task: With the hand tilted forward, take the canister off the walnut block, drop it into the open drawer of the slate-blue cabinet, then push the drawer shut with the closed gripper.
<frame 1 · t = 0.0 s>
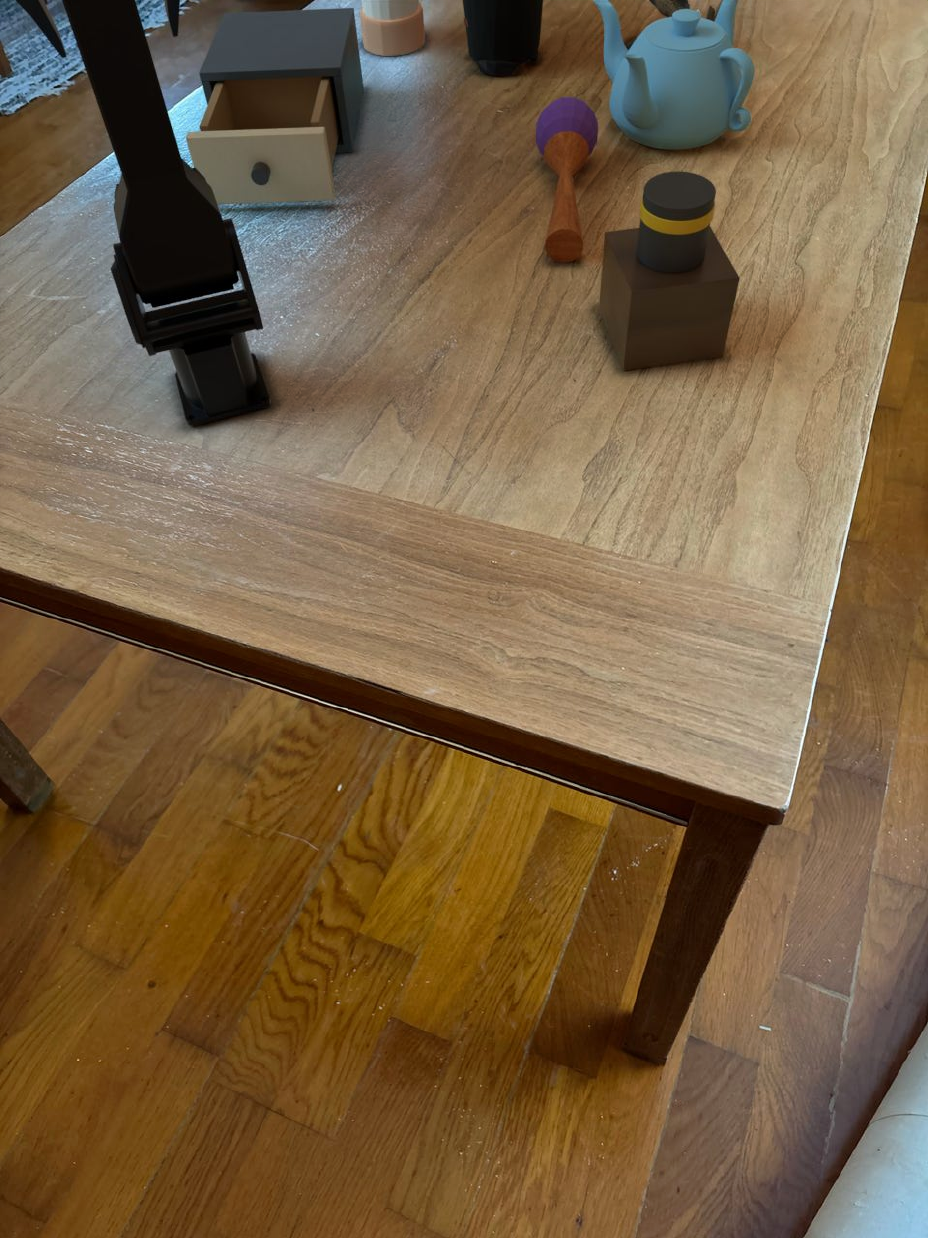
hand: (120, 44, 78), 15 cm above the table, tool pointing down, fingers open, 9 cm apart
canister: (670, 253, 70), point 7 cm above the table, touching block stand
eagle figurine: (668, 50, 106), on the table
portable speaker: (503, 62, 106), on the table
pepper shaker: (394, 44, 110), on the table
cabinet: (294, 122, 99), on the table
drawer: (270, 139, 89), point 4 cm above the table, slide at 9.5 cm
teapot: (663, 124, 96), on the table
purple maraca: (564, 203, 88), on the table
block stand: (659, 332, 75), on the table
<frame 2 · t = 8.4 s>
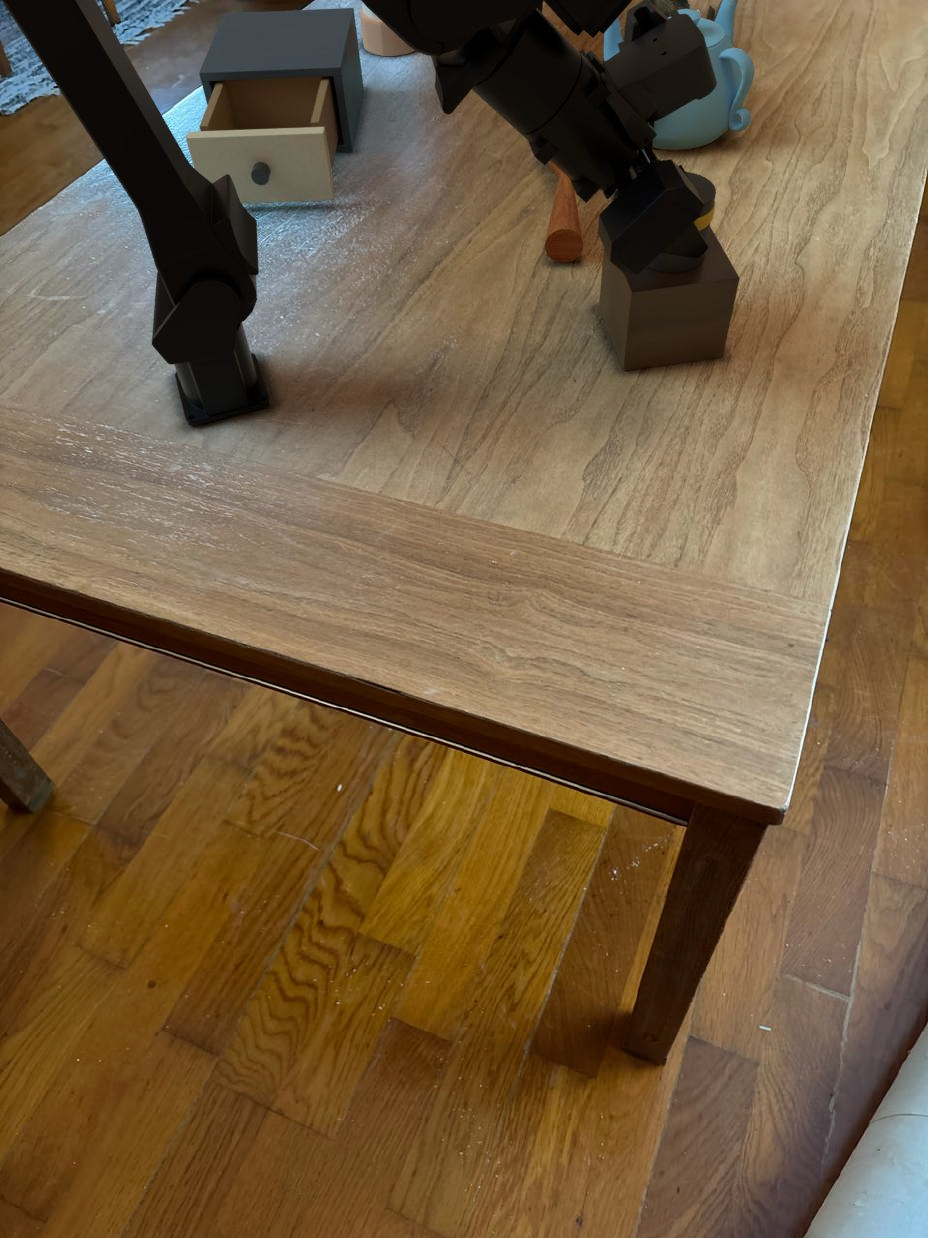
hand: (691, 231, 69), 9 cm above the table, tool tilted 45°, fingers closed on canister, 5 cm apart
canister: (670, 253, 70), point 7 cm above the table, touching block stand, gripper
everything else where it was.
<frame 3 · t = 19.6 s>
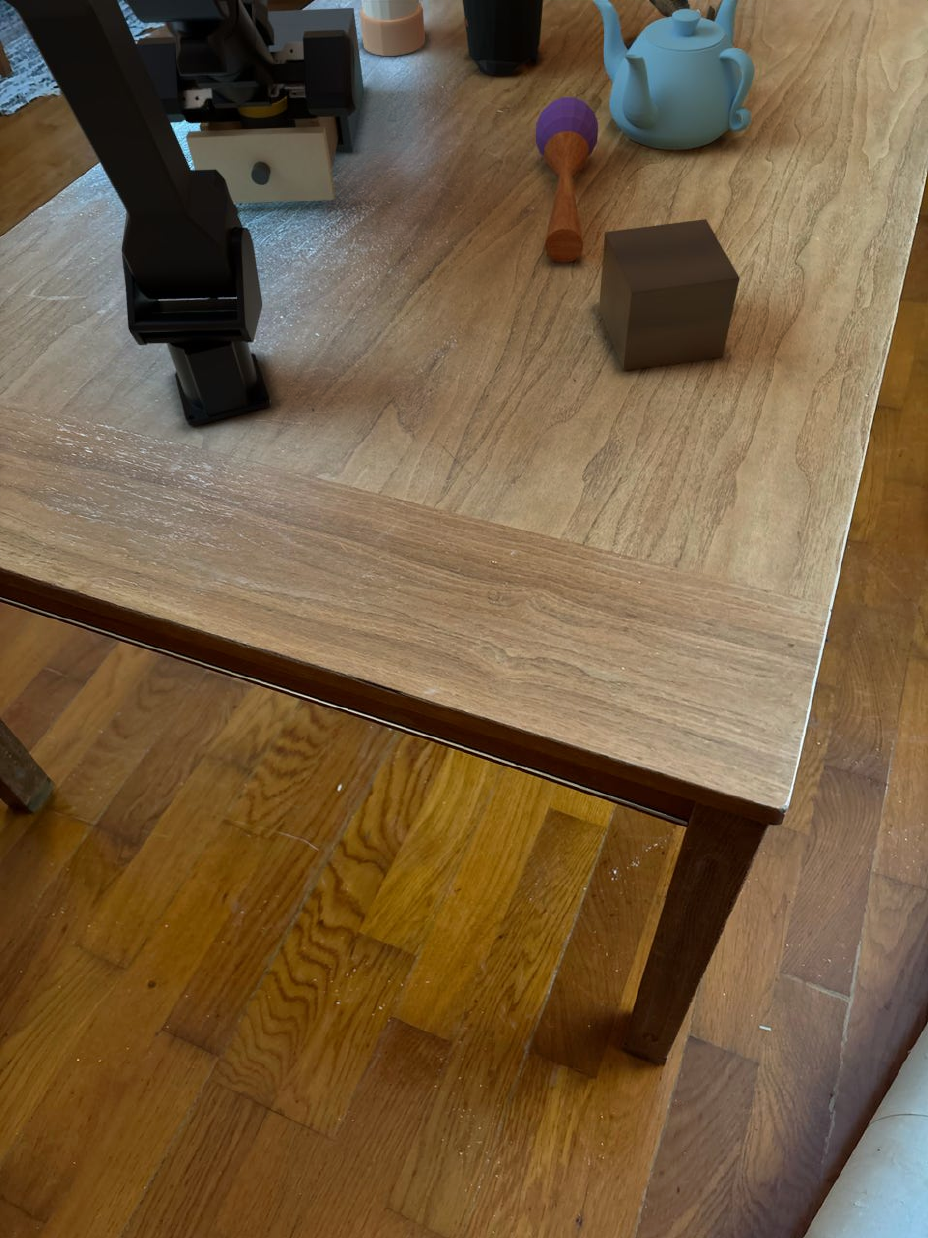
hand: (270, 114, 89), 6 cm above the table, tool tilted 45°, fingers closed on canister, 5 cm apart
canister: (271, 137, 89), point 4 cm above the table, touching gripper
drawer: (270, 138, 89), point 4 cm above the table, slide at 9.4 cm, touching gripper
everything else where it was.
when the fingers open (8 cm above the table, at t = 31.9 s): canister drops 4 cm, resting on drawer.
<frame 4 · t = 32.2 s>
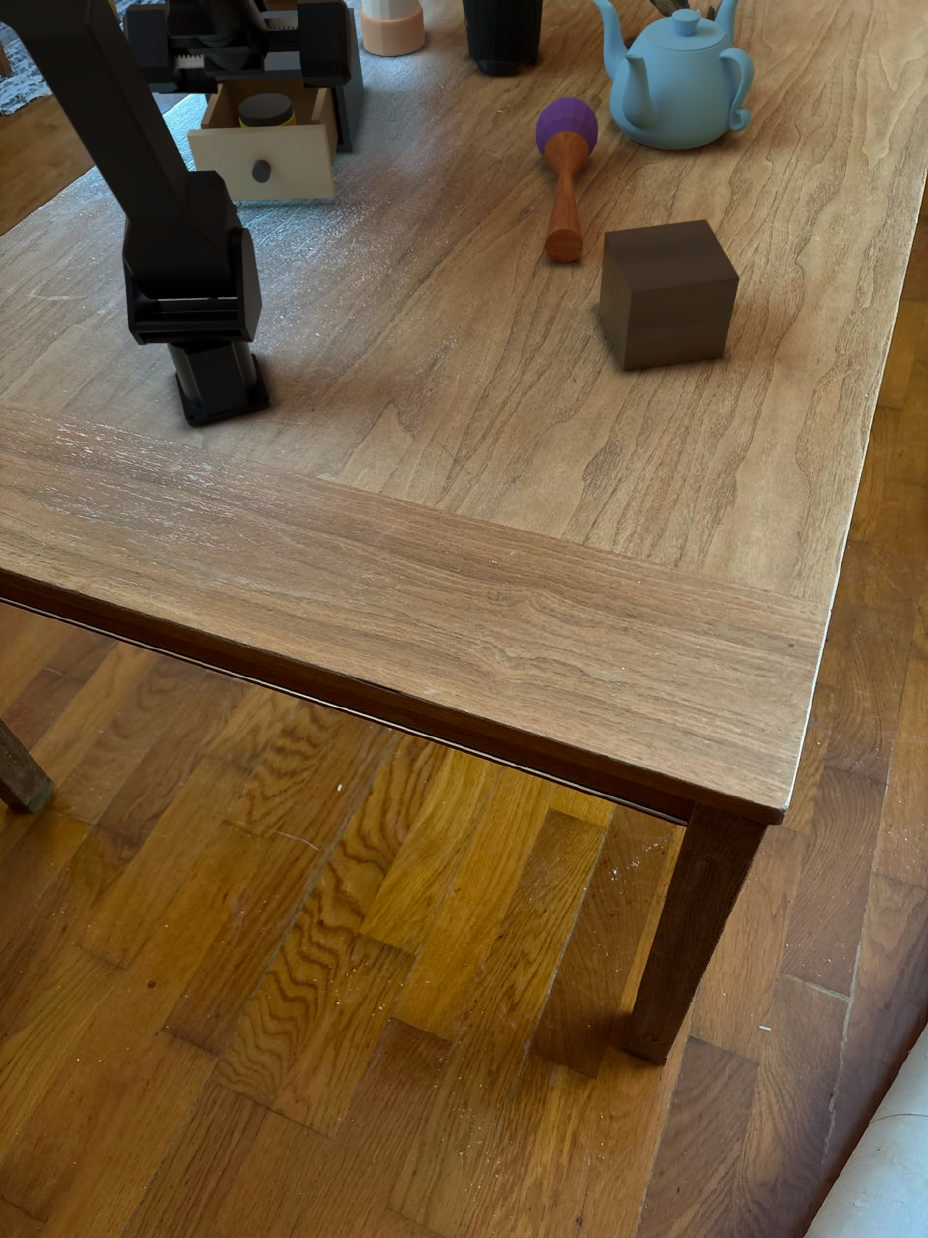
hand: (264, 85, 87), 8 cm above the table, tool tilted 45°, fingers open, 9 cm apart
canister: (275, 158, 91), point 2 cm above the table, touching drawer
drawer: (271, 137, 89), point 4 cm above the table, slide at 9.1 cm, touching canister
everything else where it was.
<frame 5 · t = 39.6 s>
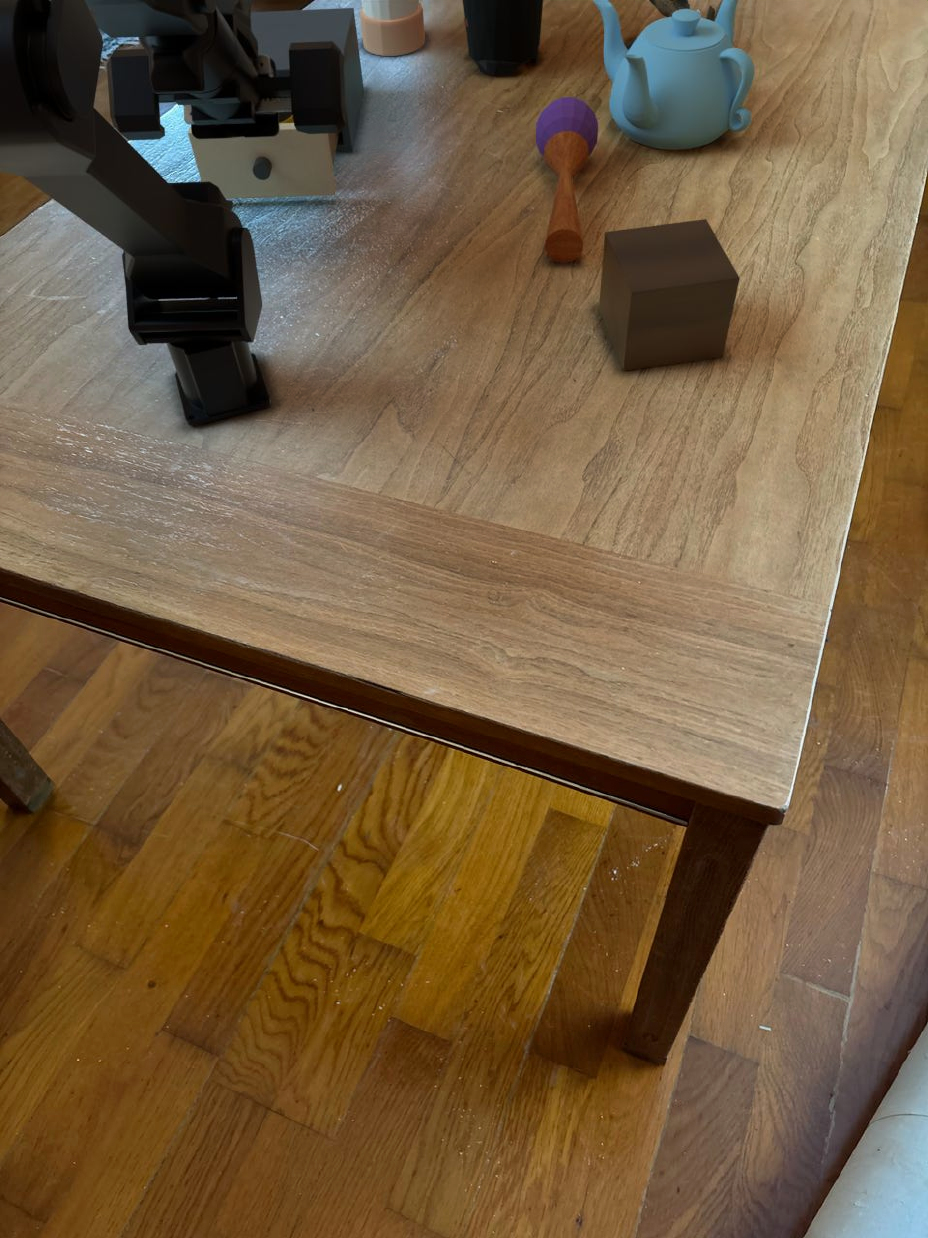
hand: (255, 128, 84), 7 cm above the table, tool tilted 45°, fingers closed, pressing on drawer
drawer: (272, 134, 90), point 4 cm above the table, slide at 8.6 cm, touching canister, gripper
everything else where it was.
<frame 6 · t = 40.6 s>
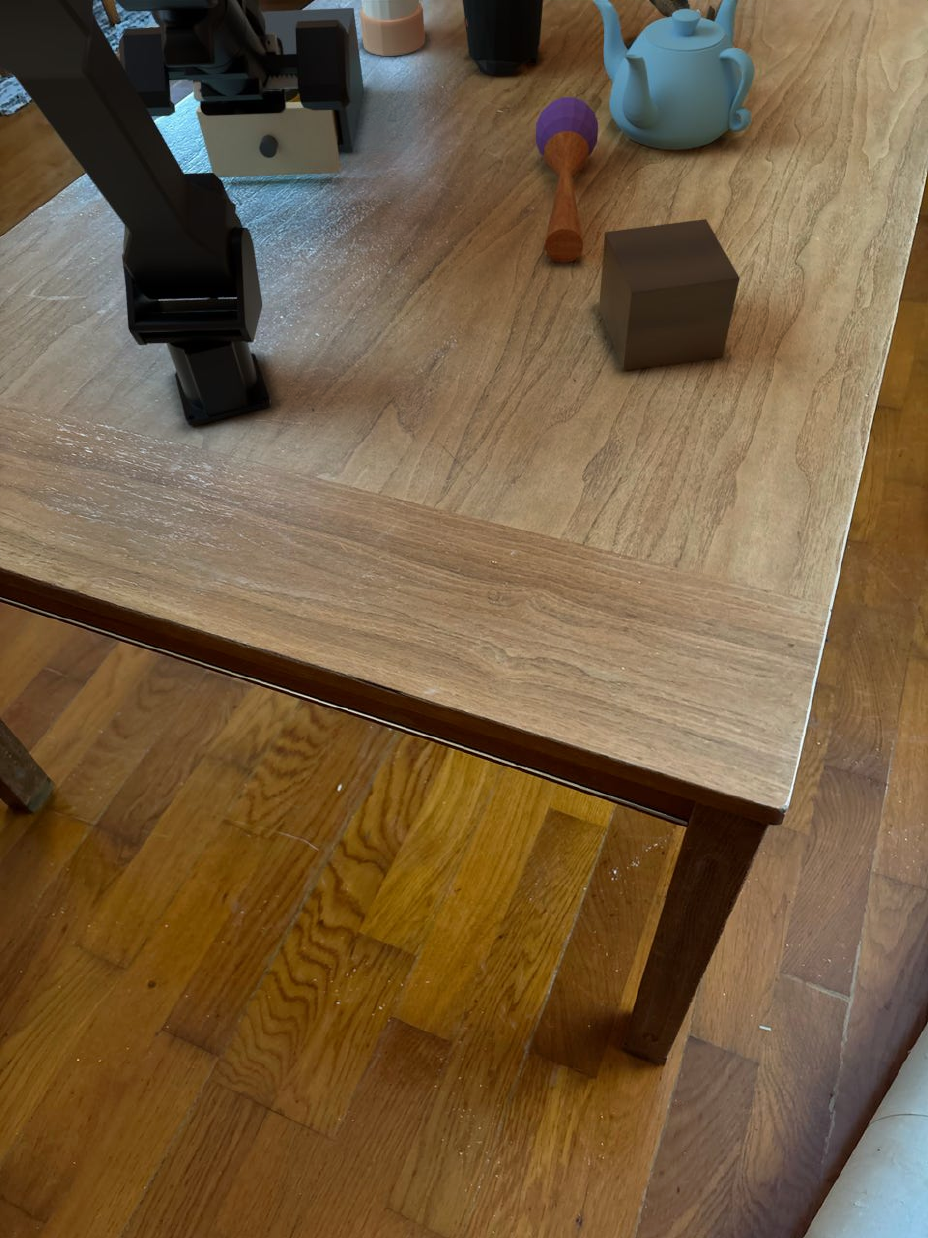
hand: (262, 107, 86), 7 cm above the table, tool tilted 45°, fingers closed, pressing on drawer
canister: (282, 135, 94), point 2 cm above the table, touching drawer
drawer: (277, 114, 92), point 4 cm above the table, slide at 4.6 cm, touching canister, gripper
everything else where it was.
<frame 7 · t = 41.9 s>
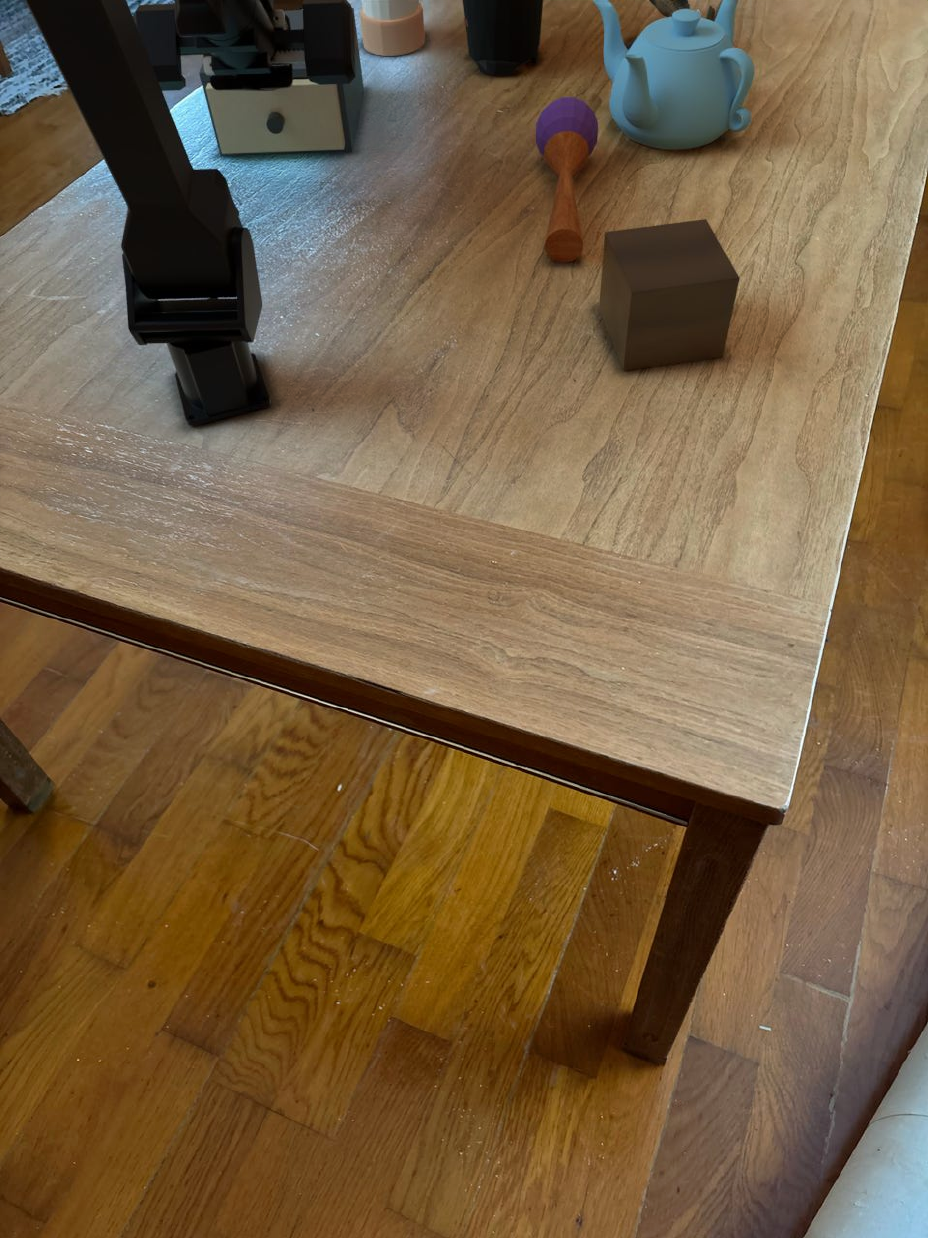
hand: (269, 84, 89), 7 cm above the table, tool tilted 45°, fingers closed, pressing on drawer
canister: (288, 113, 96), point 2 cm above the table, touching drawer
drawer: (284, 92, 95), point 4 cm above the table, slide at 0.0 cm, touching cabinet, canister, gripper
everything else where it was.
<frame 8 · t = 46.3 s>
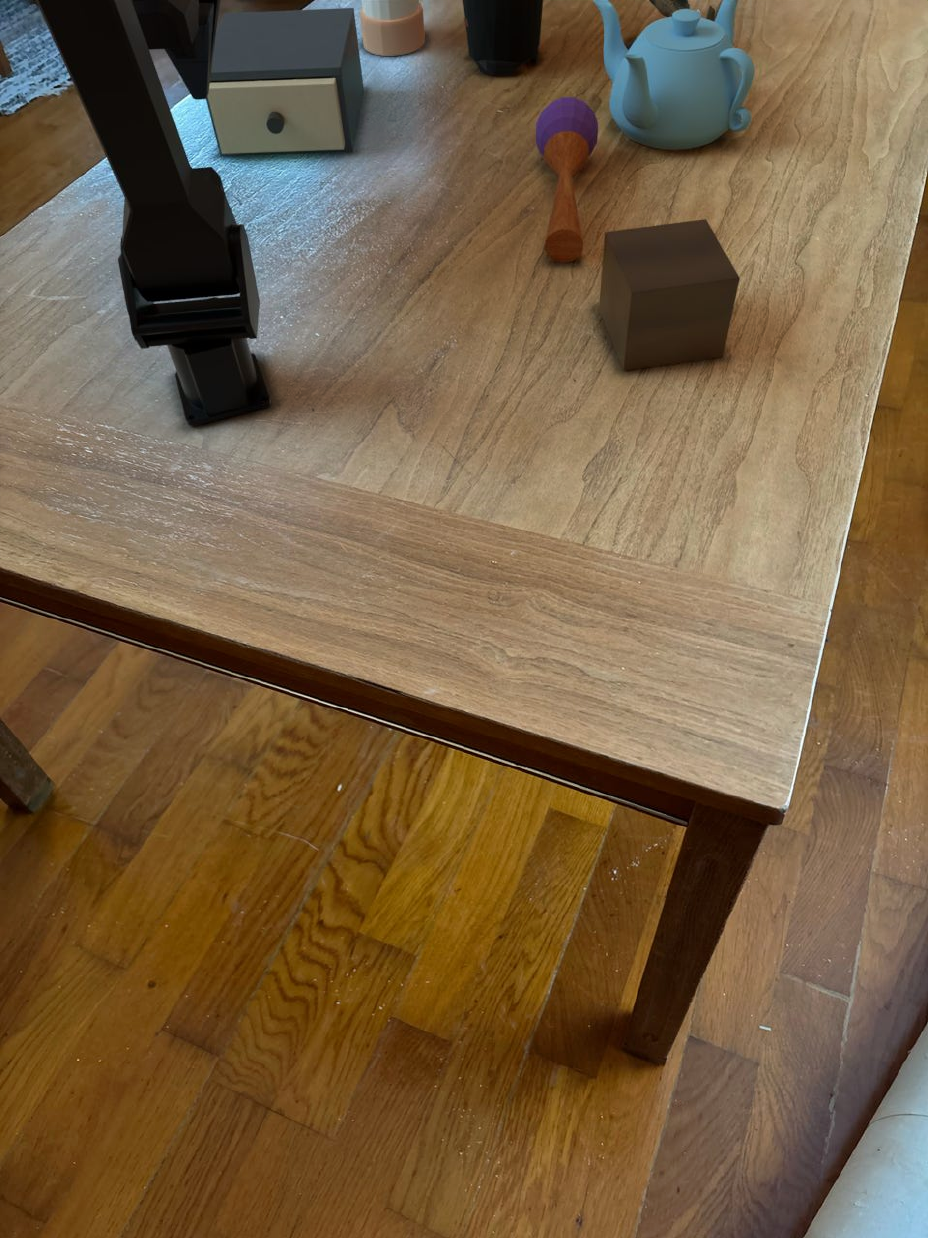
hand: (201, 97, 75), 13 cm above the table, tool pointing down, fingers closed
drawer: (284, 92, 95), point 4 cm above the table, slide at 0.0 cm, touching cabinet, canister
everything else where it was.
at the end: canister 2.4 cm from the cabinet (horizontally); canister point 2.0 cm above the table; drawer slide at 0.0 cm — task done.
